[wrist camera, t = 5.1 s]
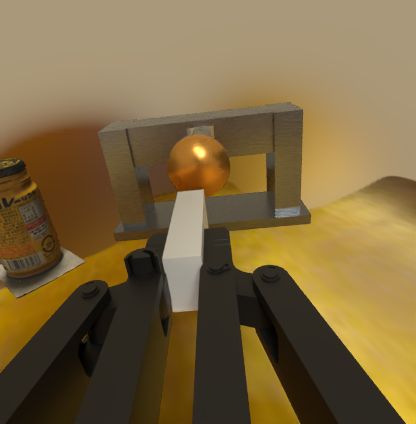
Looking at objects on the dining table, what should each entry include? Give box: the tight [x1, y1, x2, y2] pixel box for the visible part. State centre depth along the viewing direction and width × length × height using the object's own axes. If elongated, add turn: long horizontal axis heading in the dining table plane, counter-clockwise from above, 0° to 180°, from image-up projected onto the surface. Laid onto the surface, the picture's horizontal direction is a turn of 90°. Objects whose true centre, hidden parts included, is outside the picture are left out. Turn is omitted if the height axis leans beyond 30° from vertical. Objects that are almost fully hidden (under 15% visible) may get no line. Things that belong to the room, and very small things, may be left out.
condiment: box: [0, 159, 85, 298], centre depth 32 cm, size 7×8×12 cm
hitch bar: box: [98, 102, 311, 241], centre depth 38 cm, size 24×8×13 cm, turn 90°
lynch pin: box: [167, 126, 230, 197], centre depth 32 cm, size 5×14×5 cm, turn 0°
